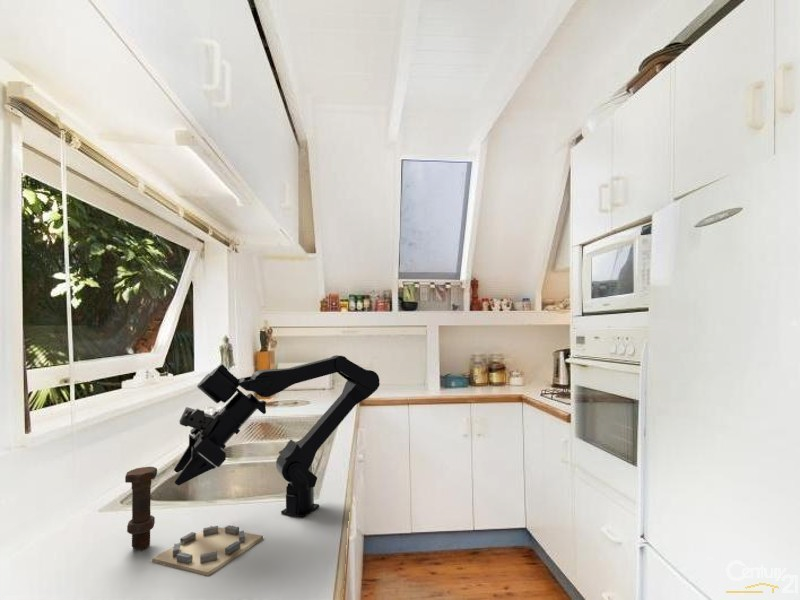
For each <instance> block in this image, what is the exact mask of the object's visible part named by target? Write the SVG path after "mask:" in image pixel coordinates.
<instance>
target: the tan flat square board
mask: <svg viewBox="0 0 800 600" xmlns="http://www.w3.org/2000/svg"><path fill="white" fill-rule="evenodd" d="M209 527H213V525H210V526H209ZM244 536H245V543H241V544H240V549H239V550H237V551H236V552H234V553H233V554H231V555H230V556H229V555H225V548H226V547H228V546H229V545H231V544H232V543H234V542H236V541H238V542H239V534H237V535H231V534H226V533H225V528H224V527H219V526H218V534H213V535H208V536H203V530H201V531H200V532H197V533H196V539H195V540H193V541H191V542H189V543H188V544H186V545H180V552H179V553H181V552H183V553H187V554H191V555H192V562H191V563H189V564H184V563H180V562H177V557H173V547H174V545H173V546H171V547H169V548H168V549H166V550H164V551H163V552H161V553H159V554H157V555H155V556H153V557H152V558H151V562H152V563H155V562H157V563H156V564H159V563H161V564H160V565H163V564H165V565H164V566H167V565H168V566H167V567H172V568H175V569H180V570H184V571H186V572H187V571H188V572H192V573H195V574H198V575H203V576H207V577H209V576H210V575H211V574H213V573H214V572H216V571H218V570H219V569H220V568H222V567H224V566H225V565H226V564H229V562H231V561H233V560H234V559H235V558H237V557H239V555H242V554H243V553H244V552H246V551H248V550H249V549H250V548H252V547H253V546H255V545H257V544H258V543H259V542H261V541H262V540H264V535H261V534H256V533H250V532H245V531H244ZM251 546H252V547H251ZM248 548H249V549H248ZM215 551H217V561H212V562H208V563H203V564H200V555H201V554H206V553H210V552H215ZM223 565H224V566H223Z"/></svg>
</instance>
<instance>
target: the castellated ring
mask: <svg viewBox="0 0 800 600" xmlns="http://www.w3.org/2000/svg"><path fill="white" fill-rule="evenodd" d="M212 526H213V525H212ZM218 527H219V525H214V526H213V527H210V526H209V527H204V528H202V529H203V530H202V531H203V536H208V535H213V534H218ZM244 532H245V530H240V526H234V525H231V524H230V525H227V526H225V533H226V534H231V535H237V534H239V542H238V541H236V542H234V543H232V544H231V545H229V546H228V547H226V548H225V555H229V556H230V555H231V554H233V553H234V552H236V551H237V550H239V549H240V544H241V543H245V536H244ZM196 534H197V533H196V532H193V531H192V532H190V533H188V534H185V535H184V536H182V537H180V538H179V539H180V540H179V541H180V542H178V543H174V545H173V546H174V547H173V546H172V547H173V557H177V562H180V563H184V564H189V563H191V562H192V555H191V554H187V553H183V552H181V553H179V552H180V545H186V544H188V543H189V542H191V541H193V540H195V539H196ZM212 561H217V551H215V552H210V553H206V554H201V555H200V564H203V563H208V562H212Z"/></svg>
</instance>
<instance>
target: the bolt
mask: <svg viewBox="0 0 800 600" xmlns="http://www.w3.org/2000/svg"><path fill="white" fill-rule="evenodd" d="M157 475H158V468H157V467H155V466H143V467H142V466H141V467H138V468H137V467H136V468H134V469H131V470H129V471H127V472H126V473H125V477H124V478H125V481H124V483H127V484H128V483H129V484H131V492H132V496H131V497H132V498H131V516H132V517H131V519H130V520H129V521H128V522H127V526H126V532H127V533H128V534H130V535H131V547H132V550H133V549H134V550H136V551H138V552H140V551H142V550H144V549H145V550H146V549H148V548H149V547H150V545H151V530H152V529H154V527H155V523H156V520H155V518H156V517H155V516H154V515H152V514H151V508H152V507H151V501H152V499H151V490H152V489H151V487H152V480H155V478H156V477H157Z"/></svg>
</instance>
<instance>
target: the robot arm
mask: <svg viewBox="0 0 800 600" xmlns="http://www.w3.org/2000/svg"><path fill="white" fill-rule="evenodd" d="M336 373H337V374H338V375H339V376H341V377H342V378H344V379H345V380H346V382H345V383H344V387H343V390H342V393H341V394H340V395H339V396H338V397H337V398H336V400H334V402H333V403H332V404H331V405H330V406H329V408H328V409H327V410H326V411H325V412H324V414H322V416H321V417H320V418H319V419H318V420H317V421H316V423H314V425H313V426H312V427H311V428H310V429H309V431H308V432H307V433H306V434H305V435H304V436H303V437H302V438H300V439H299V440H298V441H294V440H293V439H289V441H288V442H287V443H286V445H285V447H283V448H282V449H281V450H279V451H278V454H279V456H278V457H277V458H276V462H275V468H276V469H277V472H278V473H279V474H280V475H281V476H282V478H283V479H284V480H285V481H286V482H288V483H287V486H286V487H285V490H286V491H285V493H286V494H285V508H284V509H282V510H281V511H280V512H281V513H280V514H281V515H287V516H291V517H292V516H294V517H299V518H305V517H307V516H308V515H309V514H311V513H312V512H314V511H315V510H317V509H319V508H320V504H319V503H315V502H314V501H315V499H314V494H315V493H314V488H315V487H316V485H317V481H318V477H317V476H316V475H315V474H314V473H313V471H311V470H310V468H311V467H312V465H313V462H314V459H315V457H316V454H317V452H318V450H319V449H320V448H321V447H322V446H323V445H324V443H326V441H327V440H328V438H329V437H330V436H331V435H332V434H333V433H334V431H335V430H336V429H337V428H338V426H339V425H340V424H341V423H342V422H343V421H344V420H345V419H346V417H347V416H348V415H349V413H350V412H351V411H352V410H353V409H354V408H355V406H357V405H358V404H360V403H361V402H363V401H365V400H367V399H369V397H370V396H371V395H372V394H374V393H375V392H377V390H378V389H379V388H380V384H381V383H380V377H379V374H378V373H377V372H376V371H374V370H372V369H365V368H363V367H361V366H360V365H358V364H356V363H355V362H353V361H351V360H349V359H348V358H347V357H346V356H344V355H337V354H336V355H332V356H331V357H327V358H323V359H319V360H316V361H311V362H308V363H304V364H300V365H295V366H291V367H288V368H285V367H284V368H270V369H269V368H268V369H259V370H257V371H254V372H253V373H252V374H251V375H250V376H247V377H246V376H245V377H241V378H237V377H236V376H235V375H234V374H233V373H232V372H230V371H229V370H228V368H227V367H226V366H225V365H224V364H223V363H220V364H219V365H218V366H217V367H216V368H214V369H213V370H212V371H211V372H209V373H206V375H205V376H204V377H203V378H202V379H201V381H200V382H199V383H198V384H197V386H196V387H197V389H199V390H200V392H202V393H204V394H205V395H206V397H209V399H211V400H212V401H213V402H214V403H216V404H220V402H221V403H223V404H225V403H226V404H225V405H224V407H223V408H221V410H220V411H219V410H216V411H214V412H213V414H209V413H206V412H205V410H201V409H199V408H196V409H195V408H192V407H187V406H186V407H185V409H184V411H183V412H182V415H181V417H180V419H179V421H178V422H179V425H180V426H184V427H191V428H192V429H191V430H190V433H189V434H188V446H187V448H186V449H185V451H184V452H183V454H182V456H181V458H180V459H179V460H178V462H177V464H176V465H175V467H174V469H173V471H174V472H176V473H179V474H178V475H177V477H176V479H175V480H174V484H175V485H176V486H178V487H179V486H180V485H183V484H185V483H186V482H188V481H191V480H192V479H195V478H196V477H199V476H200V475H202V474H205V473H207V472H209V471H211V470H214V469H216V468H219V467H221V466H222V465H223V463H224V462H225V461H226V459H227V458H226V455H227V453H226V451H225V448H226V444H227V443H228V441H230V439H231V438H232V437H233V436H234V435H235V434H236V435H238V434H239V433H240V432H241V427H242V426H243V425H244V424H245V423H246V422H247V421H248V420H249V419H250V418H251V416H253V415H254V413H255V412H256V411H257V410H258V411H259V412H260V413H262V415H265V414H267V410H266V409H267V408H266V405H267V401H265V400H264V399H263V400H259V399H258V398H257V397H256V396H255V395H253V394H254V393H255V394H256V395H257V396H259V397H262V398H271V397H272V396H274V395H276V394H279V393H281V392H283V391H284V390H286V389H288V388H289V387H291V386H293V385H296V384H300V383H302V382H306V381H307V382H308V381H311V380H314V379H317V378H322V377H325V376H328V375H332V374H336ZM238 387H240V388H242V389H243V390H245V391H247V392H253V394H252V393H248V394H247V395H246V394H244V392H242V391H241V390H240V389H239V388H238Z"/></svg>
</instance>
